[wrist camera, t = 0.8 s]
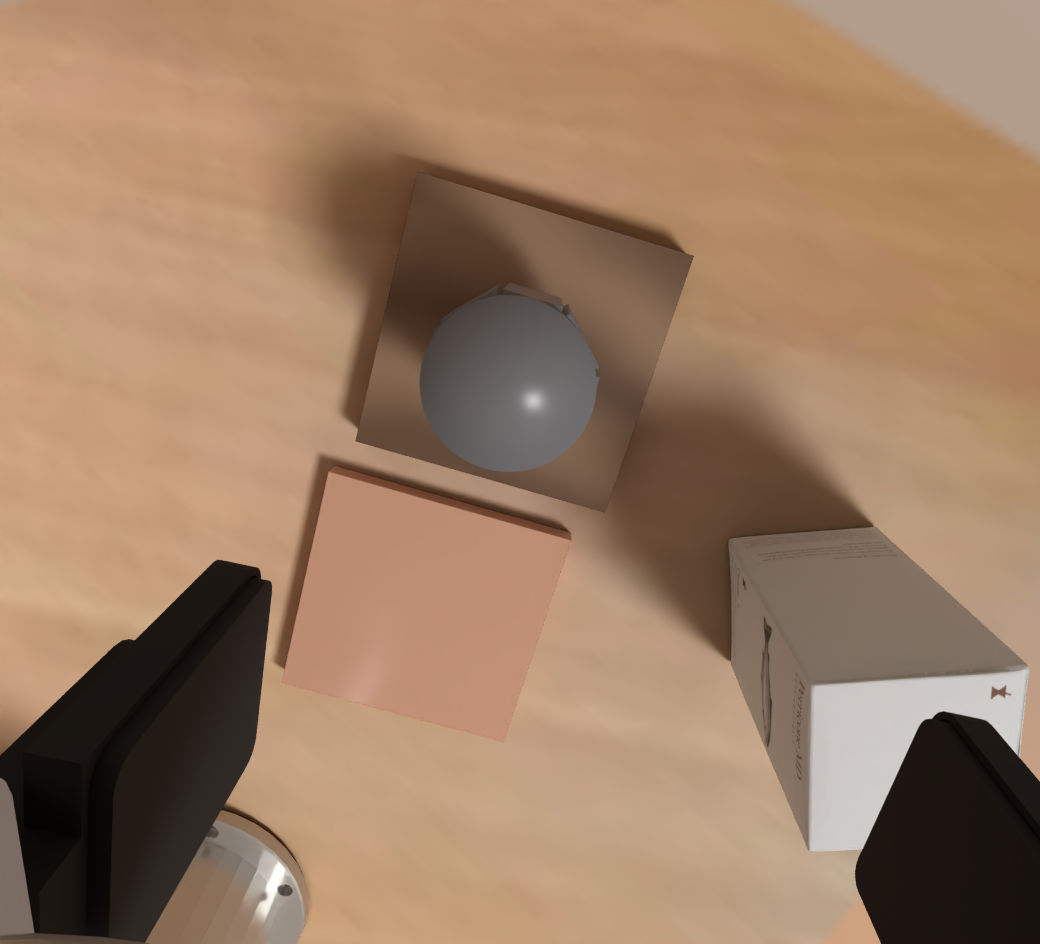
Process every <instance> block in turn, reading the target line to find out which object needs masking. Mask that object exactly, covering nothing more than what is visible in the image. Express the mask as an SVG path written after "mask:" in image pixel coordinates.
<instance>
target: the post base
mask: <svg viewBox="0 0 1040 944" xmlns="http://www.w3.org/2000/svg"><path fill="white" fill-rule="evenodd" d="M693 257H694V256H692V255H689V254H686V253H683V252H679V251H676V250H673V249H669V248H666V247H663V246H660V245H656V244H653V243H650V242H647V241H643V240H640V239H637V238H634V237H630V236H627V235H624V234H620V233H617V232H614V231H611V230H607V229H604V228H601V227H598V226H594V225H591V224H588V223H584V222H581V221H578V220H575V219H571V218H568V217H565V216H562V215H558V214H555V213H552V212H548V211H545V210H542V209H539V208H535V207H532V206H529V205H526V204H522V203H519V202H516V201H512V200H509V199H506V198H503V197H499V196H496V195H493V194H490V193H486V192H483V191H480V190H476V189H473V188H470V187H467V186H463V185H460V184H457V183H454V182H450V181H447V180H444V179H440V178H437V177H434V176H431V175H427V174H424V173H421V172H417V176H416V181H415V185H414V189H413V194H412V198H411V203H410V207H409V211H408V216H407V220H406V224H405V229H404V233H403V237H402V242H401V246H400V250H399V255H398V259H397V263H396V268H395V272H394V276H393V281H392V285H391V289H390V294H389V298H388V302H387V307H386V311H385V315H384V320H383V324H382V328H381V333H380V337H379V341H378V346H377V350H376V354H375V359H374V363H373V368H372V372H371V376H370V381H369V385H368V389H367V394H366V398H365V402H364V407H363V411H362V415H361V420H360V424H359V428H358V433H357V437H356V441H357V442H360V443H364V444H367V445H371V446H374V447H378V448H381V449H385V450H388V451H392V452H395V453H399V454H402V455H406V456H409V457H412V458H416V459H419V460H423V461H426V462H430V463H433V464H437V465H440V466H444V467H447V468H451V469H454V470H458V471H461V472H465V473H468V474H472V475H475V476H479V477H482V478H486V479H489V480H493V481H496V482H500V483H503V484H507V485H510V486H514V487H517V488H521V489H524V490H528V491H531V492H535V493H538V494H542V495H545V496H549V497H552V498H556V499H559V500H563V501H566V502H570V503H573V504H577V505H580V506H584V507H587V508H591V509H594V510H598V511H601V512H605V511H606V508H607V505H608V502H609V499H610V497H611V494H612V491H613V488H614V485H615V482H616V479H617V476H618V473H619V471H620V468H621V465H622V462H623V459H624V456H625V453H626V450H627V447H628V445H629V442H630V439H631V436H632V433H633V430H634V427H635V424H636V421H637V419H638V416H639V413H640V410H641V407H642V404H643V401H644V398H645V395H646V393H647V390H648V387H649V384H650V381H651V378H652V375H653V372H654V370H655V367H656V364H657V361H658V358H659V355H660V352H661V349H662V346H663V344H664V341H665V338H666V335H667V332H668V329H669V326H670V323H671V320H672V318H673V315H674V312H675V309H676V306H677V303H678V300H679V297H680V294H681V292H682V289H683V286H684V283H685V280H686V277H687V274H688V271H689V268H690V266H691V263H692V260H693ZM509 282H510V283H514V284H517V285H520V286H524V287H527V288H530V289H534V290H537V291H540V292H544V293H547V294H550V295H554V296H557V297H560V298H561V299H562V304H563V306H565V305H567V304H569V306H570V308H571V310H572V312H573V314H574V316H575V318H576V320H577V321H578V323H579V325H580V327H581V329H582V331H583V333H584V335H585V337H586V339H587V341H588V343H589V344H590V346H591V348H592V350H593V353H594V355H595V358H596V360H597V363H598V365H599V368H597V371H598V373H599V376H600V379H599V382H598V385H597V391H596V399H595V404H594V408H593V412H592V414H591V417H590V419H589V422H588V424H587V426H586V427H585V429H584V431H583V433H582V434H581V435H580V437H579V438H578V439H577V441H576V442H575V443H574V444H573V445H572V446H571V447H570V448H569V449H568V450H567V451H566V452H564V453H563V454H562V455H560V456H559V457H558V458H556V459H554V460H553V461H551V462H549V463H547V464H544V465H542V466H540V467H537V468H533V469H530V470H524V471H518V472H502V471H493V470H489V469H484V468H482V467H479V466H476V465H473V464H471V463H469V462H467V461H465V460H463V459H462V458H460V457H459V456H457V455H456V454H455V453H453V452H452V451H451V450H450V449H449V448H448V447H446V446H445V444H444V443H443V442H442V441H441V440H440V439H439V438H438V436H437V435H436V433H435V432H434V431H433V429H432V427H431V425H430V424H429V422H428V420H427V417H426V415H425V412H424V409H423V406H422V401H421V397H420V385H419V384H420V371H421V365H422V361H423V358H424V355H425V351H426V349H427V347H428V345H429V343H430V341H431V338H432V334H433V330H434V328H435V327H436V326H438V325H439V324H440V323H441V321H440V320H441V319H442V318H444V317H445V316H446V315H448V314H449V313H450V312H452V311H453V310H454V309H456V308H458V307H460V306H461V305H463V304H465V303H467V302H468V301H470V300H472V299H474V298H475V297H477V296H479V295H481V294H482V293H484V292H486V291H488V290H489V289H491V288H493V287H495V286H496V285H498V284H500V283H501V285H502V287H503V289H504V288H505V287H506V286H507V285H508V283H509Z"/></svg>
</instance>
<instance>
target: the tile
mask: <svg viewBox="0 0 1040 944" xmlns="http://www.w3.org/2000/svg"><path fill="white" fill-rule="evenodd" d="M570 543H571V533H570V532H566V531H563V530H559V529H556V528H552V527H548V526H545V525H541V524H538V523H534V522H531V521H527V520H524V519H520V518H517V517H513V516H510V515H506V514H503V513H499V512H496V511H492V510H489V509H485V508H482V507H478V506H475V505H471V504H468V503H464V502H460V501H457V500H453V499H450V498H446V497H443V496H439V495H436V494H432V493H429V492H425V491H422V490H418V489H415V488H411V487H408V486H404V485H401V484H397V483H394V482H390V481H387V480H383V479H380V478H376V477H372V476H369V475H365V474H362V473H358V472H355V471H351V470H348V469H344V468H341V467H337V466H334V467H333V468H332V469H331V470H330V471H329V472H328V477H327V481H326V486H325V490H324V495H323V499H322V504H321V508H320V513H319V517H318V522H317V526H316V531H315V535H314V540H313V544H312V549H311V553H310V558H309V562H308V567H307V571H306V576H305V580H304V585H303V589H302V594H301V598H300V603H299V607H298V612H297V616H296V621H295V625H294V630H293V634H292V639H291V643H290V648H289V652H288V657H287V661H286V666H285V670H284V675H283V679H282V683H284V684H288V685H292V686H295V687H299V688H303V689H307V690H310V691H314V692H318V693H322V694H325V695H329V696H333V697H336V698H340V699H344V700H348V701H351V702H355V703H359V704H363V705H366V706H370V707H374V708H377V709H381V710H385V711H389V712H392V713H396V714H400V715H403V716H407V717H411V718H415V719H418V720H422V721H426V722H430V723H433V724H437V725H441V726H444V727H448V728H452V729H456V730H459V731H463V732H467V733H471V734H474V735H478V736H482V737H485V738H489V739H493V740H497V741H500V742H504V740H505V737H506V734H507V731H508V728H509V725H510V722H511V719H512V716H513V713H514V710H515V707H516V704H517V701H518V698H519V695H520V692H521V689H522V686H523V683H524V680H525V677H526V674H527V671H528V668H529V665H530V662H531V659H532V656H533V653H534V650H535V648H536V645H537V642H538V639H539V636H540V633H541V630H542V627H543V624H544V621H545V618H546V615H547V612H548V609H549V606H550V603H551V600H552V597H553V594H554V591H555V588H556V585H557V582H558V579H559V576H560V573H561V570H562V567H563V564H564V561H565V558H566V555H567V552H568V549H569V546H570Z"/></svg>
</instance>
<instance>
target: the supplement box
mask: <svg viewBox="0 0 1040 944" xmlns="http://www.w3.org/2000/svg"><path fill="white" fill-rule="evenodd" d="M728 546H729V558H730V574H731V612H732V619H731V621H732V642H731V666H732V668H733V671H734V673H735V676H736V678H737V680H738V683H739V685H740V688H741V690H742V693H743V695H744V698H745V700H746V703H747V705H748V707H749V710H750V712H751V715H752V717H753V720H754V722H755V724H756V727H757V729H758V732H759V734H760V736H761V739H762V741H763V744H764V746H765V748H766V751H767V753H768V756H769V758H770V760H771V763H772V765H773V767H774V770H775V772H776V774H777V777H778V779H779V781H780V784H781V786H782V788H783V790H784V792H785V795H786V798H787V800H788V803H789V805H790V807H791V809H792V812H793V814H794V817H795V820H796V822H797V824H798V826H799V829H800V831H801V833H802V836H803V838H804V841H805V843H806V846H807V849H808V850H809V851H811V852H815V851H838V850H857V849H863V847H864V845H865V843H866V841H867V838H868V836H869V834H870V832H871V830H872V828H873V825H874V823H875V821H876V819H877V817H878V814H879V812H880V810H881V808H882V806H883V804H884V801H885V799H886V797H887V795H888V793H889V790H890V788H891V786H892V784H893V782H894V780H895V777H896V775H897V773H898V771H899V769H900V766H901V764H902V762H903V760H904V758H905V756H906V753H907V751H908V749H909V747H910V745H911V742H912V740H913V738H914V736H915V734H916V731H917V729H918V727H919V726H920V724H921V723H922V722H923V721H924V720H925V719H932V718H933V716H935V715H936V714H937V713H938V712H943V711H946V712H950V713H955V714H960V715H965V716H969V717H974V718H979V719H983V720H986V721H988V722H989V723H990V724H991V725H992V726H993V727H994V728H995V729H996V731H997V732H998V733H999V734H1000V735H1001V736H1002V738H1003V739H1004V740H1005V741H1006V742H1007V744H1008V745H1009V746H1010V747H1011V748H1012V749H1013V751H1014V752H1015V753H1016V754H1017V755H1018V757H1019V758H1020V751H1021V735H1022V727H1023V716H1024V708H1025V700H1026V691H1027V682H1028V677H1029V666H1028V665H1027V664H1026V663H1025V662H1024V661H1023V660H1022V659H1021V658H1020V657H1018V656H1017V655H1016V654H1015V653H1014V652H1013V651H1012V650H1011V649H1010V648H1009V647H1008V646H1006V645H1005V644H1004V643H1003V642H1002V641H1001V640H1000V639H999V638H998V637H996V636H995V635H994V634H993V633H992V632H991V631H990V630H989V629H988V628H987V627H985V626H984V625H983V624H982V623H981V622H980V621H979V620H978V619H977V618H976V617H974V616H973V615H972V614H971V613H970V612H969V611H968V610H967V609H966V608H964V607H963V606H962V605H961V604H960V603H959V602H958V601H957V600H956V599H955V598H953V597H952V596H951V595H950V594H949V593H948V592H947V591H946V590H945V589H944V588H943V587H941V586H940V585H939V584H938V583H937V582H936V581H935V580H934V579H933V578H932V577H930V576H929V575H928V574H927V573H926V572H925V571H924V570H923V569H921V568H920V567H919V566H918V565H917V564H916V563H915V562H914V561H913V560H912V559H910V558H909V557H908V556H907V555H906V554H905V553H904V552H903V551H902V550H901V549H899V548H898V547H897V546H896V545H895V544H894V543H893V542H892V541H891V540H890V539H888V538H887V537H886V536H885V535H884V534H883V533H882V532H881V531H880V530H879V529H878V528H876V527H866V528H850V529H839V530H825V531H812V532H798V533H785V534H772V535H761V536H747V537H738V538H731V539H729V541H728Z"/></svg>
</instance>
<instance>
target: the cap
mask: <svg viewBox="0 0 1040 944" xmlns="http://www.w3.org/2000/svg"><path fill="white" fill-rule="evenodd" d="M440 321H441V323H440V324H439V325H438V326H436V327H435V328H434V330H433V334H432V338H431V341H430V343H429V345H428V347H427V349H426V351H425V355H424V358H423V361H422V365H421V371H420V384H419V385H420V397H421V401H422V406H423V409H424V412H425V415H426V417H427V420H428V422H429V424H430V425H431V427H432V429H433V431H434V432H435V433H436V435H437V436H438V438H439V439H440V440H441V441H442V442H443V443H444V444H445V446H446V447H448V448H449V449H450V450H451V451H452V452H453V453H455V454H456V455H457V456H459V457H460V458H462V459H463V460H465V461H467V462H469V463H471V464H473V465H476V466H479V467H482V468H484V469H489V470H493V471H502V472H518V471H524V470H530V469H533V468H537V467H540V466H542V465H544V464H547V463H549V462H551V461H553V460H554V459H556V458H558V457H559V456H560V455H562V454H563V453H564V452H566V451H567V450H568V449H569V448H570V447H571V446H572V445H573V444H574V443H575V442H576V441H577V439H578V438H579V437H580V435H581V434H582V433H583V431H584V429H585V427H586V426H587V424H588V422H589V419H590V417H591V414H592V412H593V408H594V404H595V399H596V391H597V385H598V382H599V379H600V376H599V373H598V371H597V368H599V365H598V363H597V360H596V358H595V355H594V353H593V350H592V348H591V346H590V344H589V343H588V341H587V339H586V337H585V335H584V333H583V331H582V329H581V327H580V325H579V323H578V321H577V320H576V318H575V316H574V314H573V312H572V310H571V308H570V306H569V304H567V305H565V306H563V304H562V299H561V298H560V297H557V296H554V295H550V294H547V293H544V292H540V291H537V290H534V289H530V288H527V287H524V286H520V285H517V284H514V283H510V282H509V283H508V285H507V286H506V287H505V288H504V289H503V287H502V285H501V283H500V284H498V285H496V286H495V287H493V288H491V289H489V290H488V291H486V292H484V293H482V294H481V295H479V296H477V297H475V298H474V299H472V300H470V301H468V302H467V303H465V304H463V305H461V306H460V307H458V308H456V309H454V310H453V311H452V312H450V313H449V314H448V315H446V316H445V317H444V318H442V319H441V320H440Z"/></svg>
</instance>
